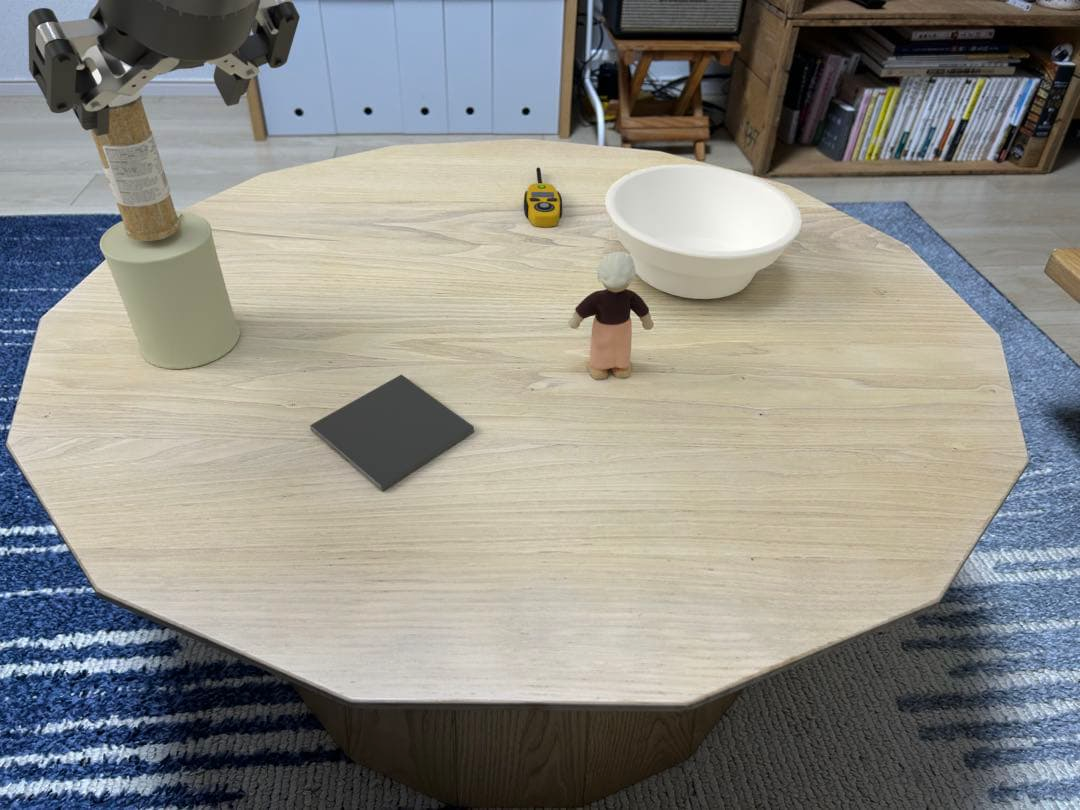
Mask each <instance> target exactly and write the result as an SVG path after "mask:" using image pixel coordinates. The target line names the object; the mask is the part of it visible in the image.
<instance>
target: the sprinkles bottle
mask: <svg viewBox="0 0 1080 810" xmlns="http://www.w3.org/2000/svg"><path fill="white" fill-rule="evenodd" d="M122 65H123V67H124V69H125V71H128V70H129V69H130V68H131V66H129V65H127V64H122ZM92 75H93V77H94V79H95V80H96V82H97V84H99V83H100V82H101V75H100V73H99V71H98V69H96V70H95V71H93V72H92ZM142 99H143V98H142V88H141V89H140V90H139V91H137V92H136V93H135V94H134V95H132V96H127V95H121V94H120V95H119V96H117V97H116V98H115V99H114V100H113V101H111V102H110V103H109V104H108V105H109V107H110V116H109V134H105V135H100V136H96V135H95V133H94V131H93V129H91V130H90V133H91V135H92V138H93V141H94V144H95V147H96V150H97V153H98V157H99V159H100V162H101V164H102V169H103V172H104V175H105V177H106V180H107V183H108V186H109V188H110V192H111V195H112V197H113V200H114V201H115V203H116V205H117V208H118V211H119V215H120V217H121V219H122V221H123V222H124V225H125V232H126V234H127V235H128V236H129V237H131V238H132V239H135V240H139V241H152V240H160V239H164V238H166V237H169V236H170V235H173V234H174V233H175V232H176V231H178V230H179V228H180V219H179V218H178V217H177V215H176V212H175V211H176V209H175V206H174V202H173V199H172V196H171V189H170V186H169V183H168V179H167V176H166V173H165V169H164V166H163V163H162V159H161V155H160V153H159V150H158V146H157V143H156V140H155V136H154V134H153V131H152V130H151V127H150V124H149V120H148V117H147V114H146V111H145V107H144V104H143V101H142Z"/></svg>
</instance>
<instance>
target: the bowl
mask: <svg viewBox="0 0 1080 810" xmlns="http://www.w3.org/2000/svg"><path fill="white" fill-rule="evenodd" d="M604 203H605V211H606V213H607V216H608V218H609V221H610V223H611V226H612V228H613V231H614V234H615V236H616V238H617V240H618V242H619V243H620V244H621V245H622V247H624V248H625V249H626V250H627V251H628V253H629V255H630V256H631V257H632V259H633V262H634V265H635V272H636V273H635V274H636V275H637V276H638V277H639V278H640V279H641V280H642V281H643V282H645V283H646V284H647V285H649V286H651V287H653V288H654V289H657V290H659V291H661V292H664V293H667V294H669V295H672V296H677V297H681V298H688V299H695V300H696V299H697V300H711V299H712V300H713V299H720V298H725V297H729V296H732V295H734V294H737V293H739V292H741V291H743V290H744V289H745V288H746V287H747V286H748V285H749V284H750V283H751V281H752V280H753V278H754V277H755V275H756V274H757V273H758V271H761V270H763V269H765V268H768V267H769V266H771V265H772V264H773V263H775V262H776V261H777V260H778V259H779V257H780V256H781V255H782V254H783V253H784V252H785V251H786V250H787V249H788V247H790V245H791V244H792V243H793V242H794V240H795V239H796V238H797V237H798V236H799V235H800V233H801V230H802V227H803V217H802V213H801V211H800V209H799V207H798V205H797V204H796V202H795V201H793V200H792V198H791V197H790V196H789V195H787V194H786V193H785V192H783V191H782V190H781V189H779V188H778V187H776V186H774V185H772V184H770V183H768V182H767V181H765V180H762V179H760V178H758V177H755V176H753V175H750V174H746V173H743V172H740V171H736V170H734V169H733V170H732V169H728V168H723V167H718V166H712V165H703V164H688V163H687V164H686V163H684V164H683V163H679V164H678V163H677V164H662V165H657V166H656V165H655V166H649V167H645V168H642V169H638V170H634V171H632V172H630V173H627V174H626V175H623V176H622V177H620V178H619V179H617V180H616V181H615V182H613V183H612V185H611V186H610V187H609V189H608V190H607V192H606V196H605V199H604Z"/></svg>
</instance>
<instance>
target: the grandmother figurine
mask: <svg viewBox="0 0 1080 810" xmlns="http://www.w3.org/2000/svg"><path fill="white" fill-rule="evenodd" d="M596 274H597V281H598V282H600V283H602V285H603V287H604V288H605V289H600V290H596V291H594V292H592V293H590V294H589V295H587V296H586V297H585V298H584V299H582V300H581V301H580V303H578V305H577V306H576V307H575V309H574V310H575V311H574V313H573V314H572V317H570V319H568V326H569V328H571V329H574V330H577V329H579V327H580V326H581V323H582V322H583V321H584V320H585V319H588V318H590V317H593V316H594V318H593V320H592V321H593V322H592V326H591V327H592V328H591V337H590V344H589V345H590V346H589V361H588V362H587V364H586V367H585V368H586V370H587V372H588V373H589V375H590V376H591V378H593V379H594V380H598V381H599V380H606V379H607V378H608V376H609V373H608V369H612V374H613V376H614V377H616V378H618V379H627V378H629V377H630V375H631V373H632V370H633V367H634V365H633V362H632V361H631V354H632V339H633V337H632V336H633V329H632V325H633V324H632V318H631V311H632V312H633V313H634V314H635V315H636V316H637V317H638V319H639V321H640V322H641V326H642V328H643V329H644V330H647V331H650V330H652V329H653V328H654V326H655V325H654V321H653V319H652V316H651V313H650V308H649V306H648V305H647V304H646V302H645V301H644V299H643V298H642V297H641V296H640V295H639V294H638V293H637V292H635V291H634V290H631V289H628V287H629V286H630V284H631V283H633V282H635V278H636V277H635V276H636V274H637V273H636V272H635V265H634V262H633V259H632V257H631V256H630V253H627V252H625V251H617V250H615V251H613V252H612V251H611V252H609V253H607V254H605V255H604V256H603V258H602V259H601V260H600V262H599V264H598V266H597V267H596Z"/></svg>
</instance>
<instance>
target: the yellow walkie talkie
mask: <svg viewBox="0 0 1080 810" xmlns="http://www.w3.org/2000/svg"><path fill="white" fill-rule="evenodd" d="M536 178H537V182H536V183H531V184H530V185H528V188H527V190H525V192H524V196H523V211H524V215H525V217H526V218H527V219H528V221H530V224H531V225H533V226H534V227H539V228H551V227H555V226H557V225H558V223H559V221H560V219H561V218H562V214H563V198H562V195H561V193H560V192H559V190H557V188H555V186H554V185H553V184H551V183H546V182H544V183H543V178H542V170H541V167H536Z"/></svg>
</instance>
